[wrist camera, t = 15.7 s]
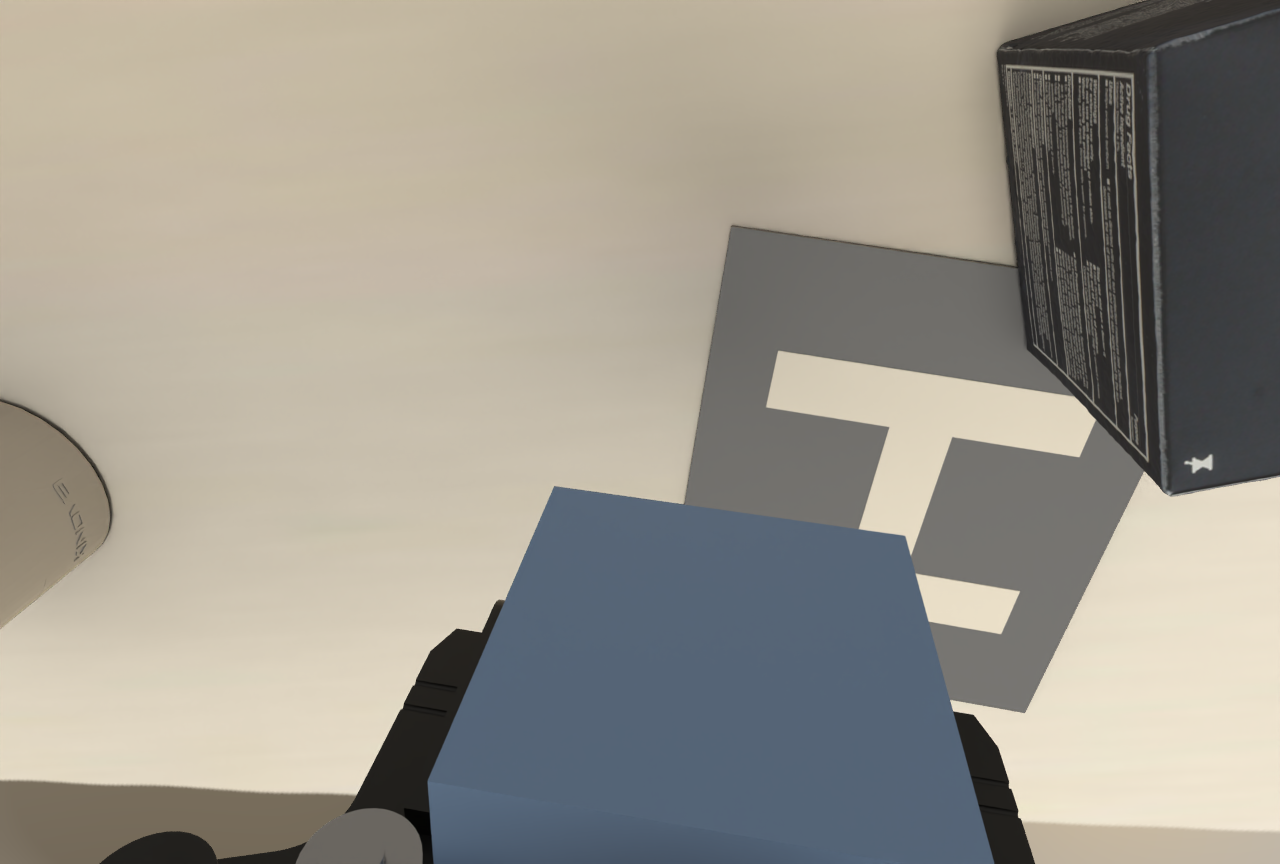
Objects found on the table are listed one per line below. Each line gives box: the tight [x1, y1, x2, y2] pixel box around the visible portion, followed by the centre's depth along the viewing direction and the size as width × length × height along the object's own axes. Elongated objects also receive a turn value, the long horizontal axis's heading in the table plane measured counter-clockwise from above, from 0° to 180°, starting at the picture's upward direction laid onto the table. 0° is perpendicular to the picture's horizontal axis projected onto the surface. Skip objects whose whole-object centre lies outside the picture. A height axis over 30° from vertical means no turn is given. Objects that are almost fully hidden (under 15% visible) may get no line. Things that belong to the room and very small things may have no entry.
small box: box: [997, 0, 1280, 496], centre depth 21 cm, size 11×6×10 cm, turn 17°
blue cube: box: [428, 486, 994, 864], centre depth 10 cm, size 5×5×5 cm
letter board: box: [684, 226, 1144, 713], centre depth 32 cm, size 17×20×1 cm
